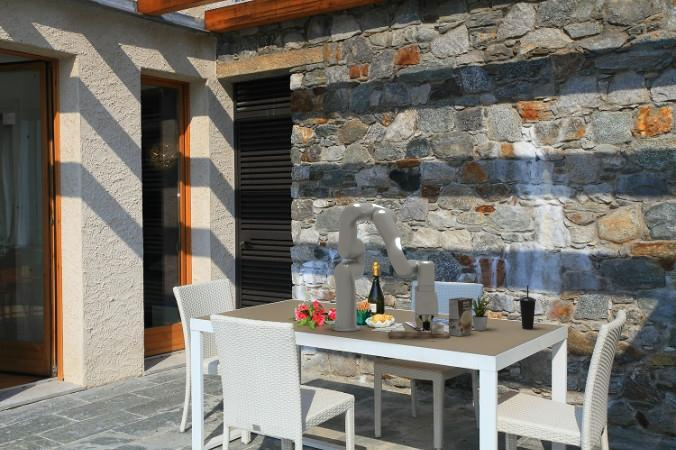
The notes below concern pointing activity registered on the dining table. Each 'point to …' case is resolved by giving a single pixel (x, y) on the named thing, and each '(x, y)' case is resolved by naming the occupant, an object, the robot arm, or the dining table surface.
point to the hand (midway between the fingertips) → (426, 330)
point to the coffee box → (460, 316)
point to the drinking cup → (527, 311)
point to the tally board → (417, 335)
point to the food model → (418, 321)
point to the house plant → (480, 314)
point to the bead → (437, 328)
